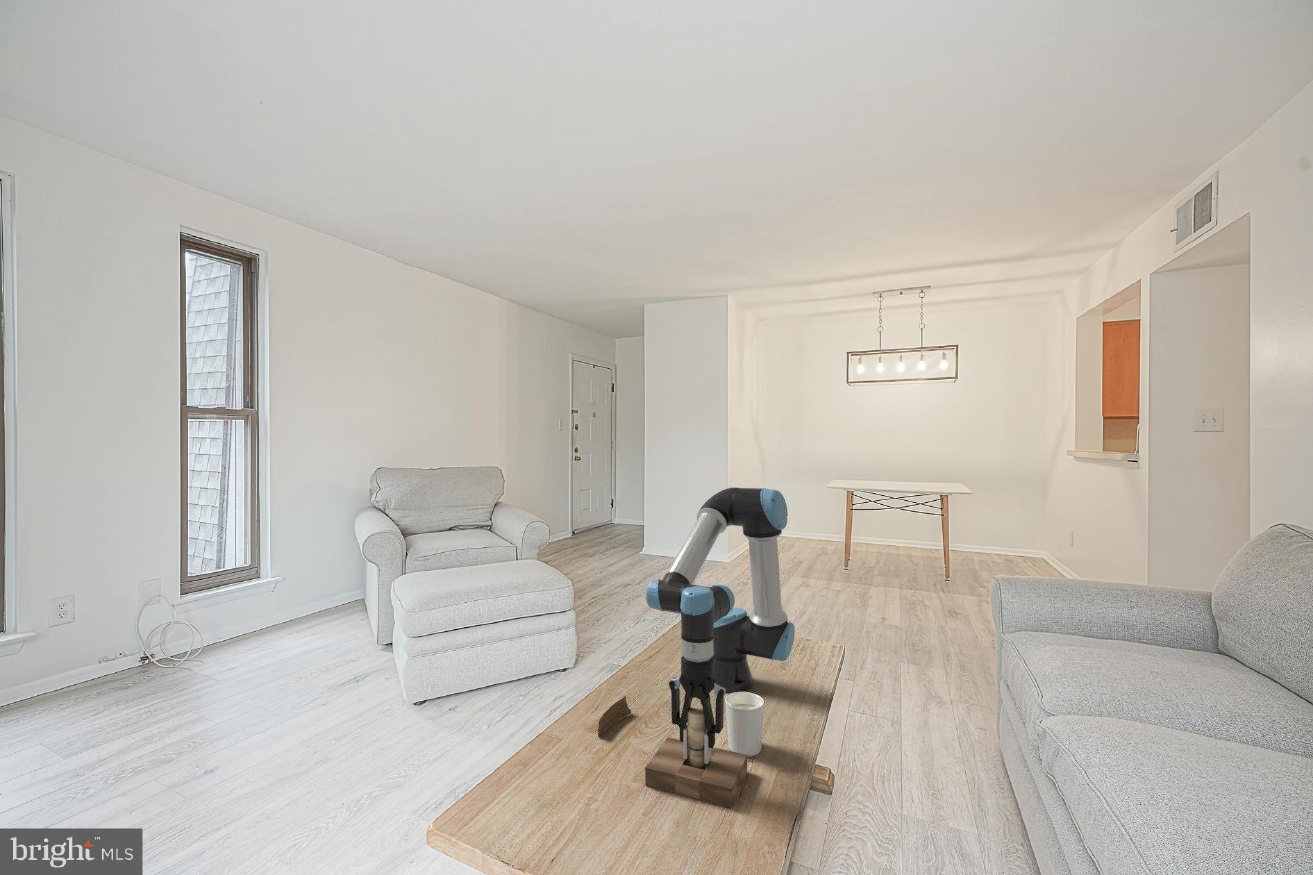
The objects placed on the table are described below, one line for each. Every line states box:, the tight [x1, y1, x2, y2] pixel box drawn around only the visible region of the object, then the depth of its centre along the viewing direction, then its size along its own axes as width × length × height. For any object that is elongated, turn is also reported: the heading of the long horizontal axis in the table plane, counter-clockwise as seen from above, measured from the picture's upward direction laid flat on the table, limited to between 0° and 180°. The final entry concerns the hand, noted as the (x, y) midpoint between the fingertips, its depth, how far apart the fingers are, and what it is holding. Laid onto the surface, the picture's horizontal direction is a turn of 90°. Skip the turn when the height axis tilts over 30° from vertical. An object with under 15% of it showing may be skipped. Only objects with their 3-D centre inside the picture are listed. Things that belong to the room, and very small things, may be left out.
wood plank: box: [597, 695, 632, 738], centre depth 151 cm, size 15×2×5 cm, turn 154°
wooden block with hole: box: [644, 736, 748, 808], centre depth 126 cm, size 14×20×4 cm
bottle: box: [687, 706, 707, 768], centre depth 126 cm, size 4×4×12 cm
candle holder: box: [724, 691, 765, 758], centre depth 139 cm, size 10×10×12 cm
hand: (697, 757), depth 126 cm, fingers closed on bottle, 4 cm apart
